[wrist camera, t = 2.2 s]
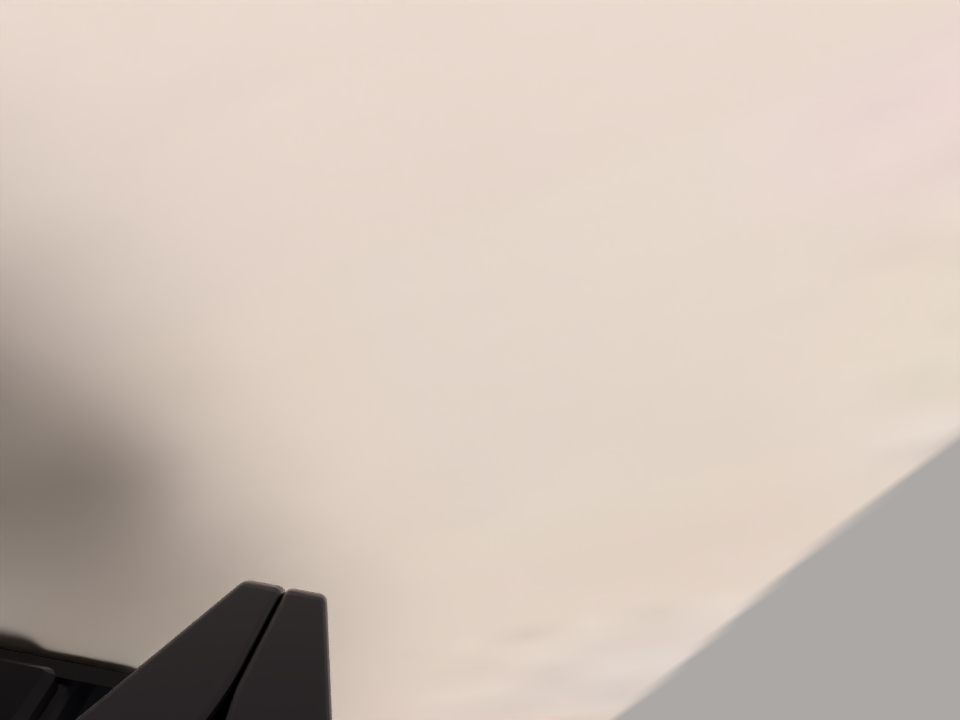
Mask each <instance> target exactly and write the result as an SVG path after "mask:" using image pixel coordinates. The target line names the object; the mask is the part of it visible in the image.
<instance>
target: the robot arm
mask: <svg viewBox="0 0 960 720" xmlns="http://www.w3.org/2000/svg"><path fill="white" fill-rule="evenodd" d="M0 720H332V708H331V684H330V660H329V637H328V613H327V600H326V597H325V596H324V595H322V594H319V593H314V592H309V591H303V590H298V589H289V590H287V591H286V592H285V590H284V589H283V588H282V587H280V586H277V585H272V584H266V583H261V582H256V581H245V582H243V583H241V584H239V585H238V586H237V587H236V588H234V589H233V590H232V591H231V592H230V593H228V594H227V595H226V596H225V597H224V598H222V599H221V600H220V601H219V602H217V603H216V604H215V605H214V606H213V607H211V608H210V609H209V610H208V611H207V612H205V613H204V614H203V615H202V616H200V617H199V618H198V619H197V620H196V621H194V622H193V623H192V624H191V625H190V626H188V627H187V628H186V629H185V630H184V631H182V632H181V633H180V634H179V635H177V636H176V637H175V638H174V639H173V640H171V641H170V642H169V643H168V644H167V645H165V646H164V647H163V648H162V649H160V650H159V651H158V652H157V653H156V654H154V655H153V656H152V657H151V658H150V659H148V660H147V661H146V662H145V663H144V664H142V665H141V666H140V667H139V668H137V669H136V670H135V671H134V672H133V673H131V674H126V673H121V672H116V671H111V670H106V669H101V668H95V667H90V666H85V665H80V664H75V663H70V662H65V661H60V660H54V659H49V658H44V657H39V656H34V655H29V654H24V653H19V652H14V651H8V650H3V649H0Z"/></svg>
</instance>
